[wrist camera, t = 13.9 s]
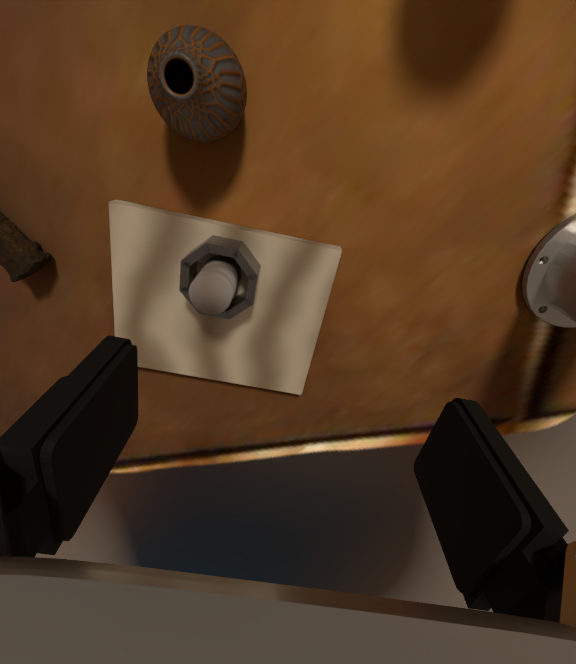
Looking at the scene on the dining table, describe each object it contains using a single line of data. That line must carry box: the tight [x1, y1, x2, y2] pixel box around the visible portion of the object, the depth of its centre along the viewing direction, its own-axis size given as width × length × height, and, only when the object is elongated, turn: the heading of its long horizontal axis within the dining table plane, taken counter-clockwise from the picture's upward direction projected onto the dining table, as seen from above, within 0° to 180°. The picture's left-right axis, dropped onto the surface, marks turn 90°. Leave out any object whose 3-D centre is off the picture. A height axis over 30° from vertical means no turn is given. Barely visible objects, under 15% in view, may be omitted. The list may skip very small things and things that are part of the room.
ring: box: [179, 235, 261, 319], centre depth 33 cm, size 7×7×3 cm
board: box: [109, 200, 342, 395], centre depth 34 cm, size 22×18×8 cm
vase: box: [147, 25, 247, 142], centre depth 25 cm, size 7×7×9 cm
